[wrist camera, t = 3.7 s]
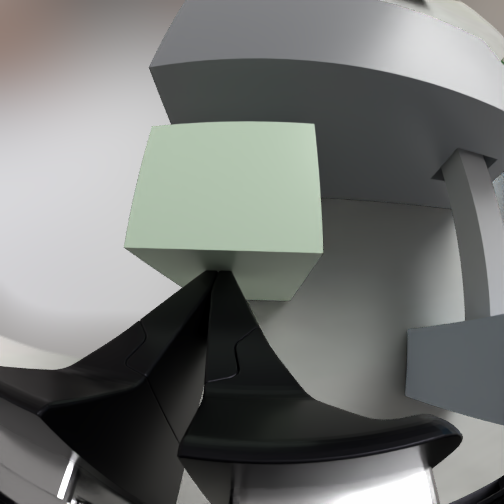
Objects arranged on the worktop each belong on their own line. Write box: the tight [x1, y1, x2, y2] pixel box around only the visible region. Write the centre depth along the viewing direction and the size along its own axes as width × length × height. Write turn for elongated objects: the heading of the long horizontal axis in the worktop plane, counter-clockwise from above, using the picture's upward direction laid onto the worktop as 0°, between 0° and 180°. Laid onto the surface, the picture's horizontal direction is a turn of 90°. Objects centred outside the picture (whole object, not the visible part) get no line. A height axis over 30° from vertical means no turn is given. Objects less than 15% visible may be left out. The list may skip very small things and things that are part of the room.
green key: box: [124, 121, 323, 301], centre depth 13 cm, size 14×5×9 cm, turn 178°
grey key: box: [405, 148, 504, 425], centre depth 11 cm, size 16×5×9 cm, turn 178°
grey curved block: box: [149, 0, 504, 209], centre depth 14 cm, size 8×18×10 cm, turn 88°
